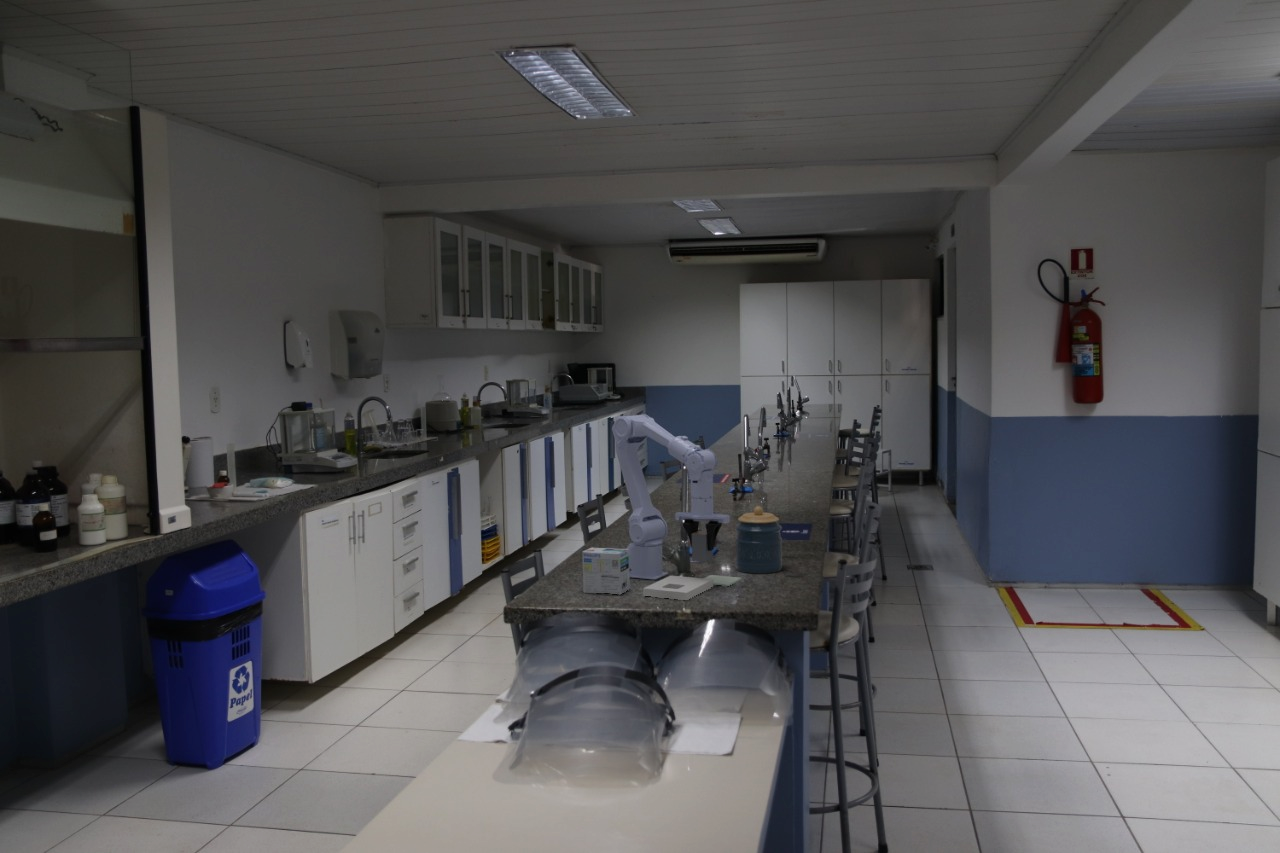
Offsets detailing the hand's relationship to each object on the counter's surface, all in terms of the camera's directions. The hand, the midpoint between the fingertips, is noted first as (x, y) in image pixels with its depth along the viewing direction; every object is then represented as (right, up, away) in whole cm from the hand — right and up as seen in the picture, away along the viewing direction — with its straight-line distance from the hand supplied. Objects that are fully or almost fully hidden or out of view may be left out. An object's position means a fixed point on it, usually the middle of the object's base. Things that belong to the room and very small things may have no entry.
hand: (702, 549), depth 260 cm
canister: (+17, -8, +20) cm, 27 cm away
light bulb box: (-25, -11, -3) cm, 27 cm away
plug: (0, -3, 0) cm, 3 cm away
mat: (+5, -9, +5) cm, 12 cm away
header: (-6, -10, -5) cm, 13 cm away
